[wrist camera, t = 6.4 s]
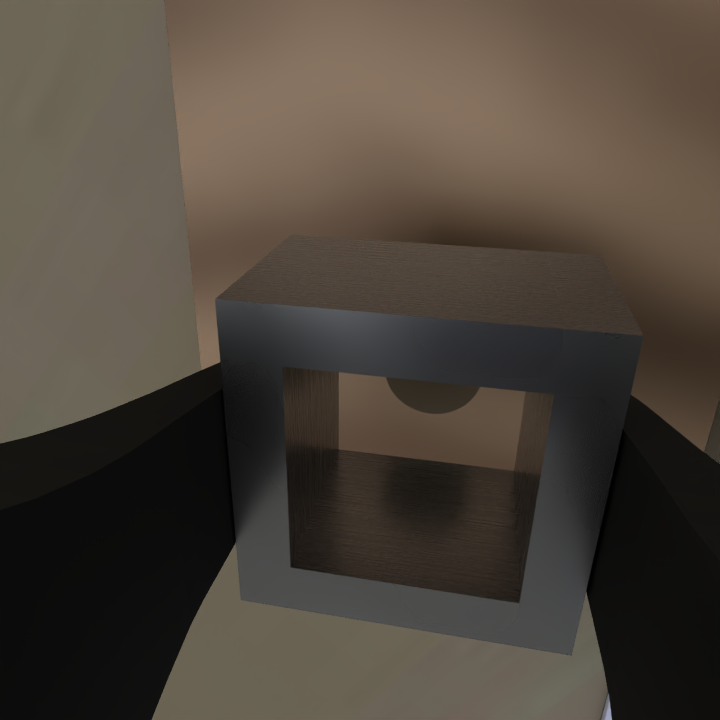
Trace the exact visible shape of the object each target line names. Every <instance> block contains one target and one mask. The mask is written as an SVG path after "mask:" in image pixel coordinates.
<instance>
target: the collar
mask: <svg viewBox="0 0 720 720" xmlns="http://www.w3.org/2000/svg"><path fill="white" fill-rule="evenodd" d="M215 306H216V318H217V329H218V341H219V352H220V364H221V375H222V387H223V398H224V410H225V422H226V433H227V445H228V456H229V468H230V479H231V491H232V502H233V514H234V525H235V537H236V548H237V560H238V572H239V583H240V595H241V600H244V601H250V602H256V603H262V604H268V605H274V606H280V607H286V608H292V609H298V610H303V611H309V612H315V613H321V614H327V615H333V616H339V617H345V618H351V619H357V620H363V621H369V622H375V623H381V624H387V625H393V626H399V627H405V628H411V629H417V630H423V631H429V632H434V633H440V634H446V635H452V636H458V637H464V638H470V639H476V640H482V641H488V642H494V643H500V644H506V645H512V646H518V647H524V648H530V649H536V650H542V651H548V652H554V653H559V654H565V655H572V651H573V647H574V642H575V638H576V633H577V629H578V625H579V620H580V616H581V611H582V607H583V602H584V598H585V594H586V589H587V585H588V580H589V576H590V572H591V567H592V563H593V558H594V554H595V549H596V545H597V541H598V536H599V532H600V527H601V523H602V519H603V514H604V510H605V505H606V501H607V496H608V492H609V488H610V483H611V479H612V474H613V470H614V466H615V461H616V457H617V452H618V448H619V443H620V439H621V435H622V430H623V426H624V421H625V417H626V413H627V408H628V404H629V399H630V395H631V390H632V386H633V382H634V377H635V373H636V368H637V364H638V360H639V355H640V351H641V346H642V342H643V337H644V335H643V333H642V331H641V330H640V328H639V326H638V324H637V322H636V320H635V318H634V316H633V314H632V312H631V311H630V309H629V307H628V305H627V303H626V301H625V299H624V297H623V295H622V294H621V292H620V290H619V288H618V286H617V284H616V282H615V280H614V278H613V276H612V275H611V273H610V271H609V269H608V267H607V265H606V263H605V261H604V259H603V258H602V256H601V255H590V254H575V253H560V252H545V251H530V250H515V249H500V248H485V247H470V246H455V245H440V244H425V243H410V242H395V241H380V240H365V239H350V238H335V237H320V236H305V235H290V236H289V237H287V238H286V239H285V240H284V241H283V242H281V243H280V244H279V245H278V246H277V247H276V248H274V249H273V250H272V251H271V252H270V253H269V254H267V255H266V256H265V257H264V258H263V259H261V260H260V261H259V262H258V263H257V264H256V265H254V266H253V267H252V268H251V269H250V270H249V271H247V272H246V273H245V274H244V275H243V276H241V277H240V278H239V279H238V280H237V281H236V282H234V283H233V284H232V285H231V286H230V287H228V288H227V289H226V290H225V291H224V292H223V293H221V294H220V295H219V296H218V297H217V298H216V299H215ZM339 372H340V373H350V374H360V375H369V376H379V377H389V378H399V379H408V380H418V381H428V382H438V383H447V384H457V385H467V386H476V387H486V388H496V389H506V390H515V391H525V399H524V406H523V413H522V420H521V427H520V434H519V441H518V447H517V454H516V461H515V468H514V471H511V470H503V469H495V468H487V467H479V466H471V465H463V464H455V463H446V462H438V461H430V460H422V459H414V458H406V457H398V456H390V455H381V454H373V453H365V452H357V451H349V450H341V449H339Z"/></svg>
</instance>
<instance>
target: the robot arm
mask: <svg viewBox="0 0 720 720" xmlns="http://www.w3.org/2000/svg"><path fill="white" fill-rule="evenodd" d="M235 543H236V537H235V525H234V514H233V502H232V491H231V479H230V468H229V456H228V445H227V433H226V422H225V410H224V398H223V387H222V375H221V364H220V362H219V363H217V364H215V365H212V366H210V367H208V368H205V369H203V370H201V371H199V372H196V373H194V374H192V375H190V376H188V377H185V378H183V379H181V380H179V381H177V382H174V383H172V384H170V385H168V386H166V387H163V388H161V389H159V390H157V391H154V392H152V393H150V394H147V395H145V396H143V397H140V398H138V399H135V400H133V401H130V402H128V403H125V404H123V405H120V406H118V407H116V408H113V409H111V410H108V411H106V412H103V413H101V414H98V415H95V416H93V417H90V418H87V419H84V420H81V421H78V422H75V423H72V424H69V425H66V426H63V427H60V428H56V429H53V430H50V431H47V432H44V433H40V434H37V435H33V436H30V437H26V438H22V439H18V440H14V441H10V442H5V443H1V444H0V720H151V719H152V717H153V714H154V712H155V709H156V707H157V704H158V702H159V699H160V697H161V694H162V692H163V689H164V687H165V684H166V682H167V679H168V677H169V675H170V672H171V670H172V668H173V665H174V663H175V661H176V658H177V656H178V654H179V651H180V649H181V647H182V644H183V642H184V640H185V637H186V635H187V632H188V630H189V628H190V626H191V623H192V621H193V619H194V617H195V615H196V613H197V611H198V609H199V607H200V606H201V604H202V602H203V600H204V598H205V596H206V594H207V593H208V591H209V589H210V587H211V585H212V584H213V582H214V580H215V578H216V577H217V575H218V573H219V571H220V569H221V568H222V566H223V564H224V562H225V561H226V559H227V557H228V555H229V553H230V552H231V550H232V548H233V546H234V545H235ZM586 592H587V596H588V600H589V605H590V609H591V613H592V618H593V622H594V627H595V631H596V635H597V640H598V644H599V648H600V653H601V657H602V662H603V666H604V671H605V677H606V682H607V688H608V697H607V700H606V704H605V708H604V711H603V715H602V719H601V720H720V464H719V463H717V462H716V461H715V460H713V459H712V458H711V457H709V456H708V455H707V454H706V453H704V452H703V451H702V450H700V449H699V448H698V447H697V446H695V445H694V444H693V443H692V442H690V441H689V440H688V439H687V438H685V437H684V436H683V435H682V434H681V433H679V432H678V431H677V430H676V429H674V428H673V427H672V426H671V425H670V424H668V423H667V422H666V421H665V420H663V419H662V418H661V417H660V416H659V415H657V414H656V413H655V412H654V411H652V410H651V409H650V408H649V407H647V406H646V405H645V404H644V403H642V402H641V401H640V400H638V399H637V398H635V397H634V396H632V395H630V399H629V404H628V408H627V413H626V417H625V421H624V426H623V430H622V435H621V439H620V443H619V448H618V452H617V457H616V461H615V466H614V470H613V474H612V479H611V483H610V488H609V492H608V496H607V501H606V505H605V510H604V514H603V519H602V523H601V527H600V532H599V536H598V541H597V545H596V549H595V554H594V558H593V563H592V567H591V572H590V576H589V580H588V585H587V589H586Z"/></svg>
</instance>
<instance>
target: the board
mask: <svg viewBox="0 0 720 720" xmlns="http://www.w3.org/2000/svg"><path fill="white" fill-rule="evenodd" d="M164 2H165V12H166V21H167V31H168V41H169V51H170V61H171V71H172V81H173V91H174V101H175V111H176V121H177V131H178V141H179V151H180V161H181V171H182V181H183V191H184V201H185V211H186V221H187V231H188V241H189V251H190V261H191V271H192V281H193V291H194V301H195V311H196V321H197V331H198V341H199V351H200V361H201V370H203V369H205V368H208V367H210V366H212V365H215V364H217V363H219V362H220V352H219V341H218V329H217V318H216V306H215V299H216V298H217V297H218V296H219V295H220V294H221V293H223V292H224V291H225V290H226V289H227V288H228V287H230V286H231V285H232V284H233V283H234V282H236V281H237V280H238V279H239V278H240V277H241V276H243V275H244V274H245V273H246V272H247V271H249V270H250V269H251V268H252V267H253V266H254V265H256V264H257V263H258V262H259V261H260V260H261V259H263V258H264V257H265V256H266V255H267V254H269V253H270V252H271V251H272V250H273V249H274V248H276V247H277V246H278V245H279V244H280V243H281V242H283V241H284V240H285V239H286V238H287V237H289V236H290V235H305V236H320V237H335V238H350V239H365V240H380V241H395V242H410V243H425V244H440V245H455V246H470V247H485V248H500V249H515V250H530V251H545V252H560V253H575V254H590V255H601V256H602V258H603V259H604V261H605V263H606V265H607V267H608V269H609V271H610V273H611V275H612V276H613V278H614V280H615V282H616V284H617V286H618V288H619V290H620V292H621V294H622V295H623V297H624V299H625V301H626V303H627V305H628V307H629V309H630V311H631V312H632V314H633V316H634V318H635V320H636V322H637V324H638V326H639V328H640V330H641V331H642V333H643V335H644V337H643V342H642V346H641V351H640V355H639V360H638V364H637V368H636V373H635V377H634V382H633V386H632V390H631V395H632V396H634V397H635V398H637V399H638V400H640V401H641V402H642V403H644V404H645V405H646V406H647V407H649V408H650V409H651V410H652V411H654V412H655V413H656V414H657V415H659V416H660V417H661V418H662V419H663V420H665V421H666V422H667V423H668V424H670V425H671V426H672V427H673V428H674V429H676V430H677V431H678V432H679V433H681V434H682V435H683V436H684V437H685V438H687V439H688V440H689V441H690V442H692V443H693V444H694V445H695V446H697V447H698V448H699V449H700V450H702V451H703V452H704V450H705V447H706V444H707V440H708V437H709V433H710V430H711V427H712V423H713V420H714V417H715V413H716V410H717V406H718V403H719V400H720V0H164ZM524 399H525V391H515V390H506V389H496V388H486V387H476V386H467V385H457V384H447V383H438V382H428V381H418V380H408V379H399V378H389V377H379V376H369V375H360V374H350V373H340V372H339V449H341V450H349V451H357V452H365V453H373V454H381V455H390V456H398V457H406V458H414V459H422V460H430V461H438V462H446V463H455V464H463V465H471V466H479V467H487V468H495V469H503V470H511V471H514V468H515V461H516V454H517V447H518V441H519V434H520V427H521V420H522V413H523V406H524Z"/></svg>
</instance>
